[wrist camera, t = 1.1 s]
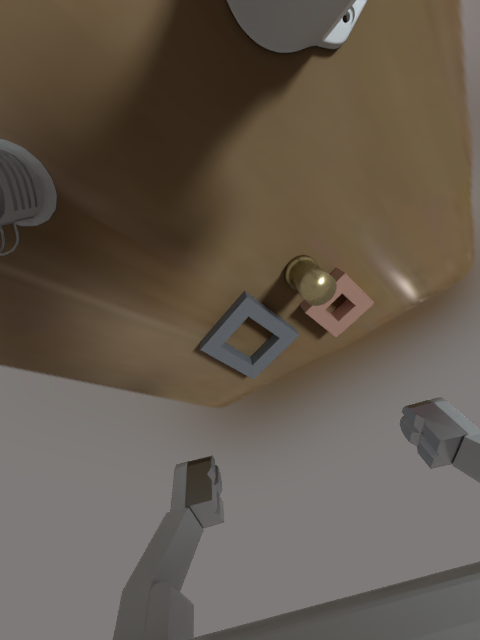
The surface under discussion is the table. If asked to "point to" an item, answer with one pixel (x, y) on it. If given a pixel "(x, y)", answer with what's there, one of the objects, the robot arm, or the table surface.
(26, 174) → the french press
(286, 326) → the socket block
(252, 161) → the table surface
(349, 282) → the small socket
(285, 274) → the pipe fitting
